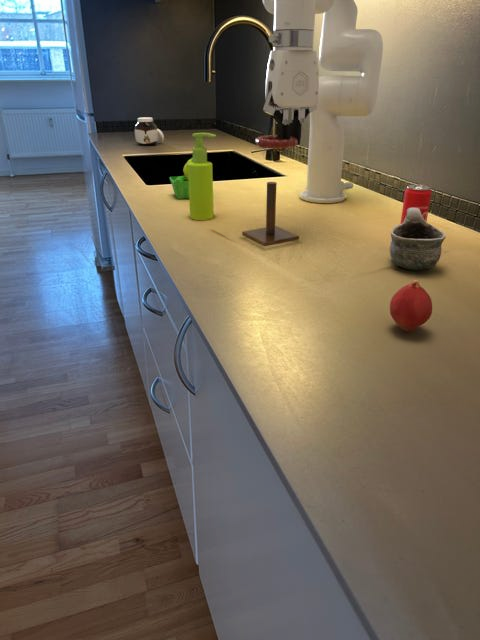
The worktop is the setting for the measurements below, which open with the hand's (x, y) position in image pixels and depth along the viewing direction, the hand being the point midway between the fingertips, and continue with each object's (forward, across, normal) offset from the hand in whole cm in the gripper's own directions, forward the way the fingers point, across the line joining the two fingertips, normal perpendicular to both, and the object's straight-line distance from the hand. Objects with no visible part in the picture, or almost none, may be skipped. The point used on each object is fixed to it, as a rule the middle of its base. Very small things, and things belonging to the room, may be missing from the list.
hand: (288, 143), depth 104 cm
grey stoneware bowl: (+20, +11, -26) cm, 35 cm away
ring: (-1, -3, 0) cm, 3 cm away
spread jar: (+20, +28, +147) cm, 151 cm away
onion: (+20, -10, -45) cm, 50 cm away
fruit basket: (+20, 0, +45) cm, 50 cm away
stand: (+20, -4, 0) cm, 20 cm away
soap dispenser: (+20, -8, +24) cm, 33 cm away
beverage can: (+20, +21, -17) cm, 34 cm away
